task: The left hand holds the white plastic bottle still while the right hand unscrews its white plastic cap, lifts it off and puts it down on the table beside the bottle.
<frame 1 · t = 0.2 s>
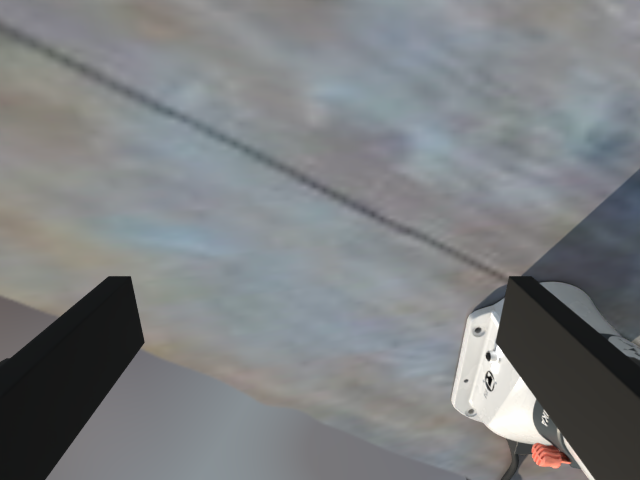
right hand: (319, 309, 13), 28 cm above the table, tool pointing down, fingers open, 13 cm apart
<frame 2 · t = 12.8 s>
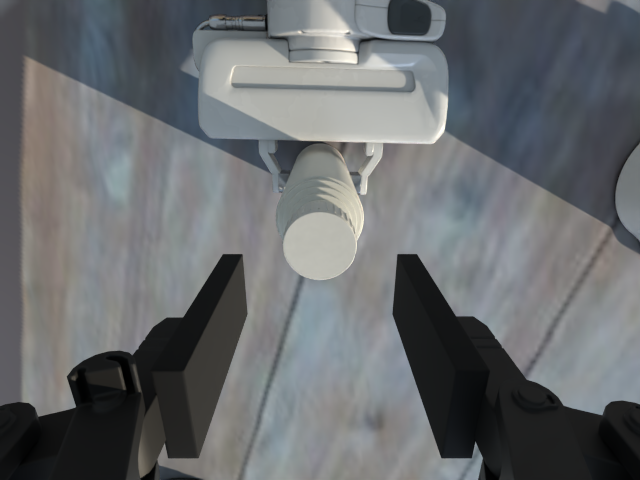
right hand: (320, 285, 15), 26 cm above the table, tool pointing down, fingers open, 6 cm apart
left hand: (320, 192, 33), fingers closed on bottle, 5 cm apart
cap: (319, 245, 19), point 22 cm above the table, screwed on, not yet turned
bottle: (319, 169, 39), on the table, touching left hand
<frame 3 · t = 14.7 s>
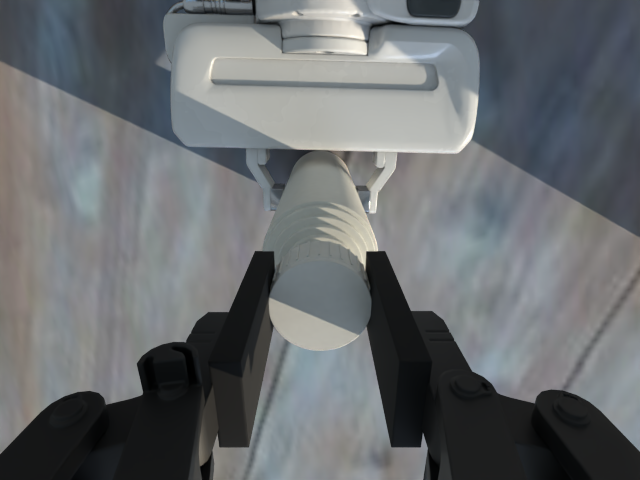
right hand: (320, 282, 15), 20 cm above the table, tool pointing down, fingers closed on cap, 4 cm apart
left hand: (320, 210, 28), fingers closed on bottle, 5 cm apart
cap: (320, 303, 13), point 22 cm above the table, screwed on, not yet turned, touching right hand
bottle: (320, 180, 34), on the table, touching left hand
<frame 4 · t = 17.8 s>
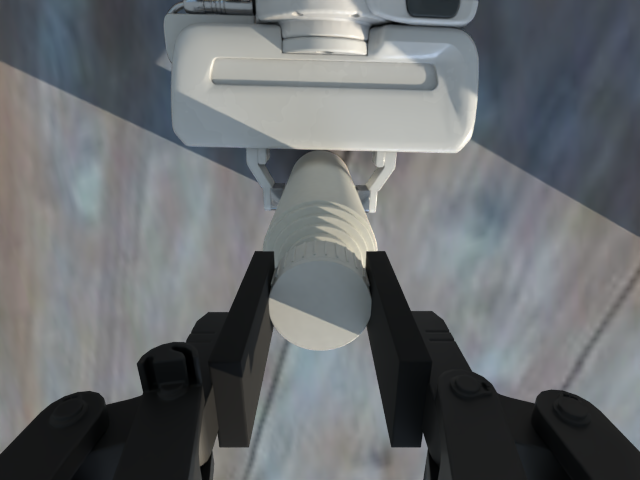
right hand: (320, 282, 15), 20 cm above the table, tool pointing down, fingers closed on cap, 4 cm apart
left hand: (320, 209, 28), fingers closed on bottle, 5 cm apart
cap: (320, 303, 13), point 22 cm above the table, turned 104° so far, risen 0.1 cm, still on its thread, touching right hand
bottle: (320, 180, 34), on the table, touching left hand
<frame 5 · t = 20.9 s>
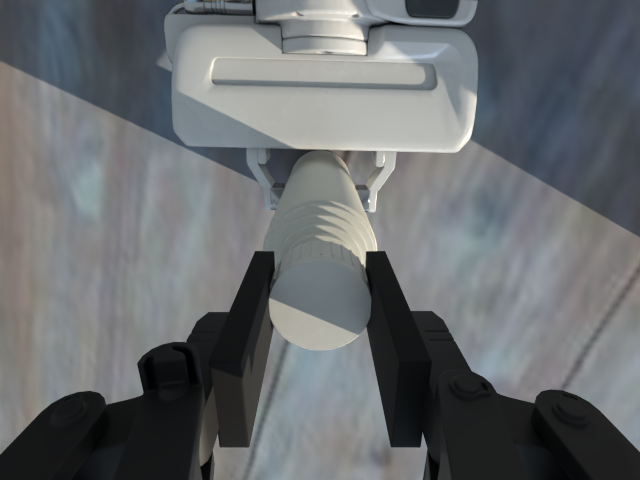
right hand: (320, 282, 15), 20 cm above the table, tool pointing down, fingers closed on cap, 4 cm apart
left hand: (320, 209, 28), fingers closed on bottle, 5 cm apart
cap: (320, 303, 13), point 22 cm above the table, turned 209° so far, risen 0.2 cm, still on its thread, touching right hand
bottle: (320, 179, 34), on the table, touching left hand
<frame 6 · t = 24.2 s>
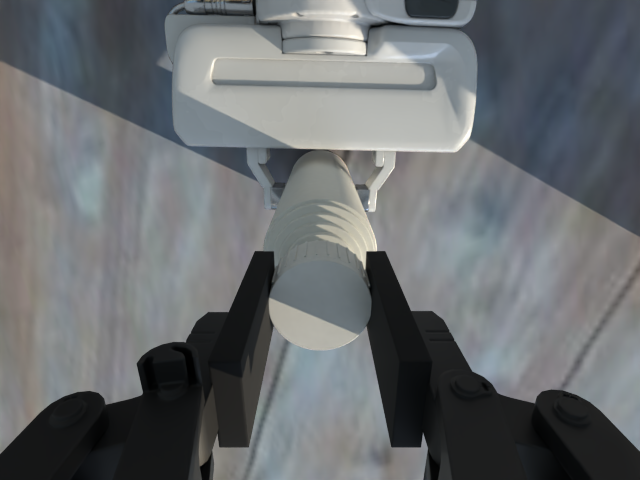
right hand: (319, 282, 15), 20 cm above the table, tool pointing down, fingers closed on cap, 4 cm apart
left hand: (320, 208, 28), fingers closed on bottle, 5 cm apart
cap: (320, 303, 13), point 22 cm above the table, turned 313° so far, risen 0.3 cm, still on its thread, touching right hand
bottle: (320, 179, 34), on the table, touching left hand
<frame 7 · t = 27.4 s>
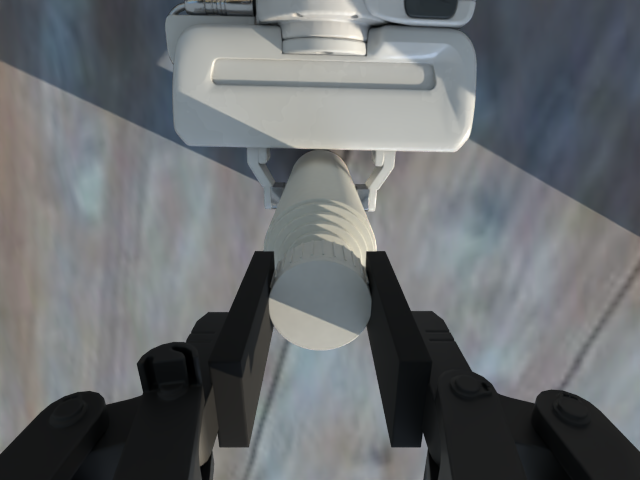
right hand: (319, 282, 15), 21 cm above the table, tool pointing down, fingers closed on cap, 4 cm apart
left hand: (320, 208, 28), fingers closed on bottle, 5 cm apart
cap: (320, 303, 13), point 22 cm above the table, turned 417° so far, risen 0.4 cm, still on its thread, touching right hand
bottle: (320, 179, 34), on the table, touching left hand
when the right hand's fingers open (1 cm above the table, at t = 34.7 s): cap drops 1 cm, point 2 cm above the table.
when the left hand's fingers open (7 cm above the table, at t = 36.1 s): bottle stays where it is, on the table.
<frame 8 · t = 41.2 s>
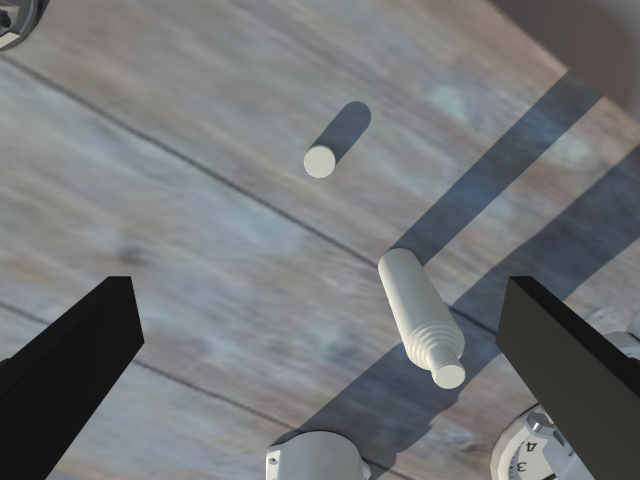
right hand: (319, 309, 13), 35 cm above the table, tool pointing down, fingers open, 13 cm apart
cap: (319, 161, 44), point 2 cm above the table, off its thread
bottle: (398, 266, 51), on the table
wall clock: (575, 455, 64), on the table
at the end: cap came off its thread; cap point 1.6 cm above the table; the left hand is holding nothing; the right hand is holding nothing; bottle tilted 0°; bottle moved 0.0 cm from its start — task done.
